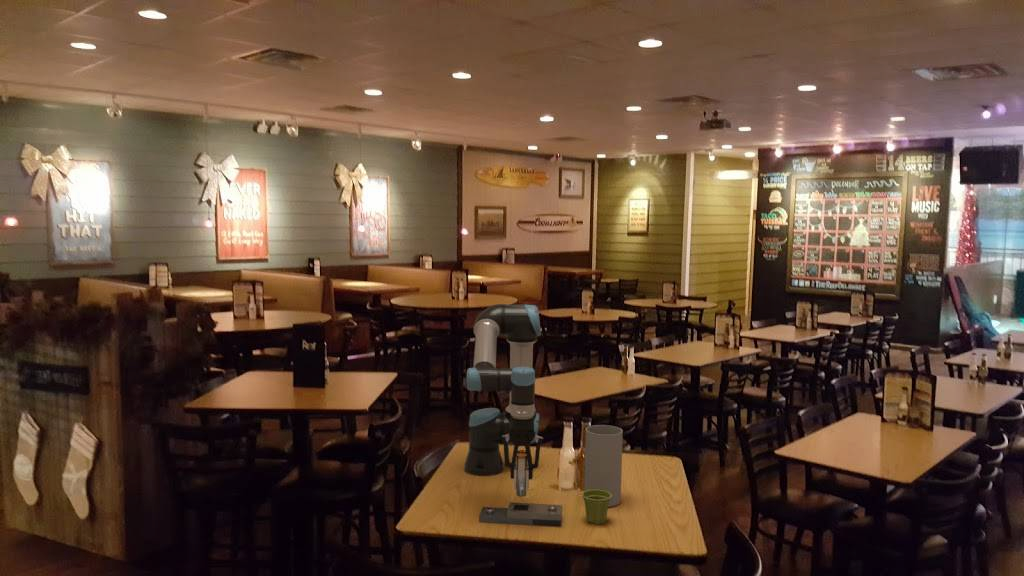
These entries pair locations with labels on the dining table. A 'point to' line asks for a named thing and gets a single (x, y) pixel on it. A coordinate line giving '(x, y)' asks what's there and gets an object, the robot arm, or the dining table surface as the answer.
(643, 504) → the dining table surface
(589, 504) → the plant pot
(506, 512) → the stand base plate
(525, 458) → the pin
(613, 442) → the cylinder vase
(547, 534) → the dining table surface
